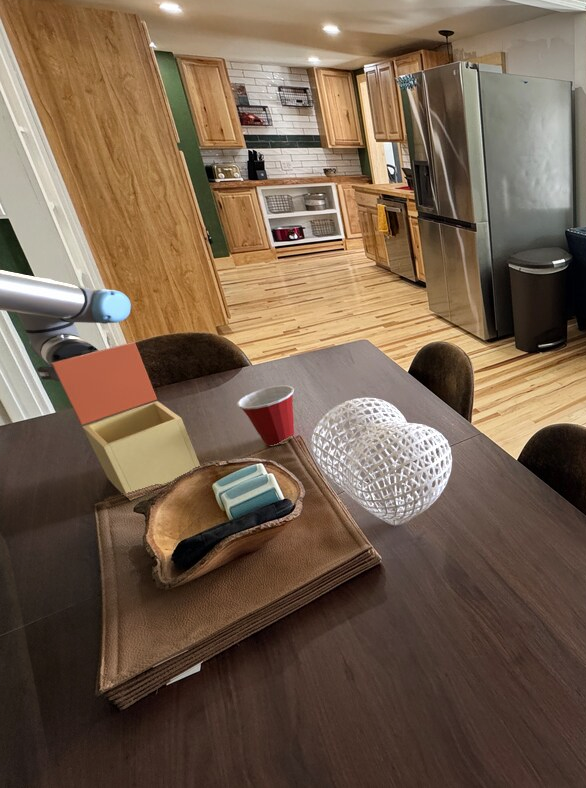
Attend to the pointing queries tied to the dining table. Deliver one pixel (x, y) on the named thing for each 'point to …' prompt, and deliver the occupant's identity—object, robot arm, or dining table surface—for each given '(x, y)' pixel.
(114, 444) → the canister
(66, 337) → the robot arm
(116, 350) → the lid
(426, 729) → the dining table surface
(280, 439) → the plastic cup
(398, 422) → the heart
